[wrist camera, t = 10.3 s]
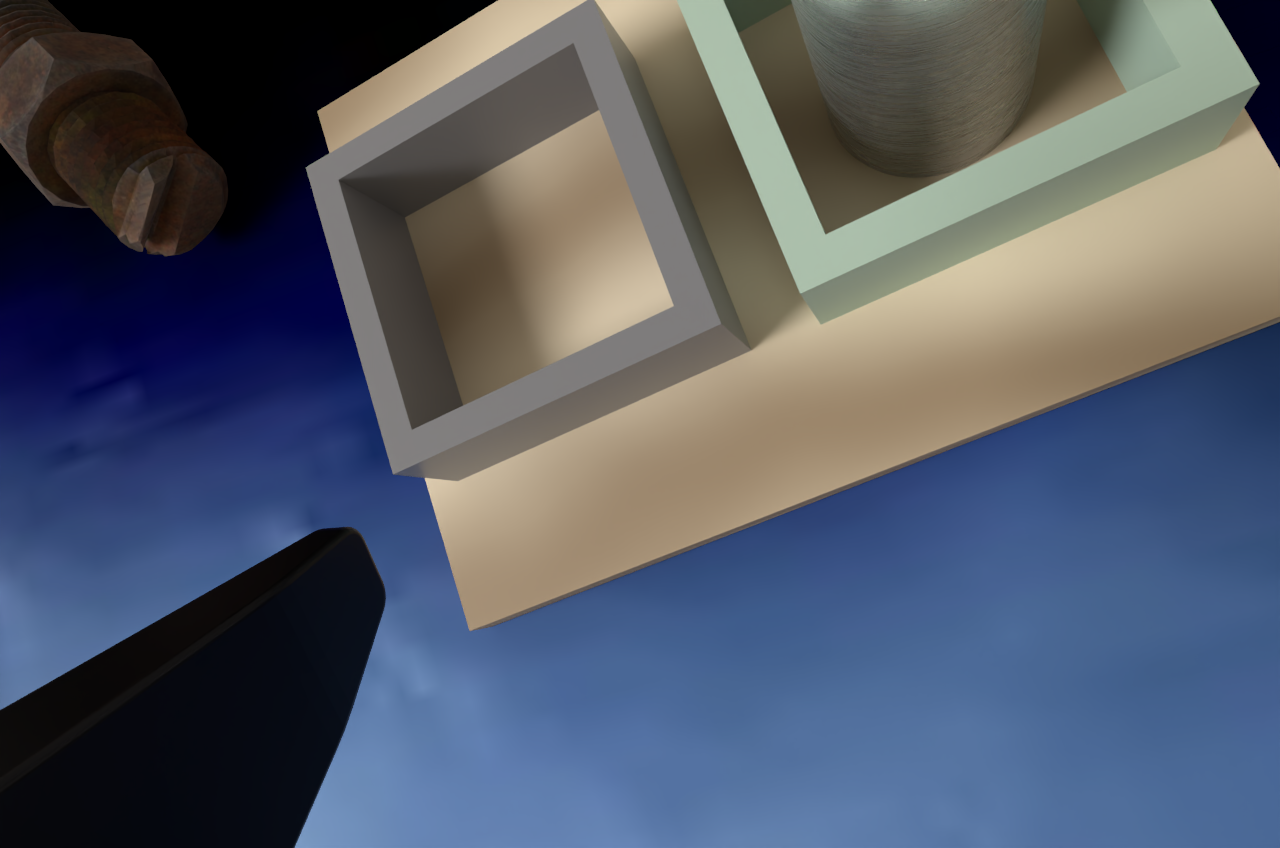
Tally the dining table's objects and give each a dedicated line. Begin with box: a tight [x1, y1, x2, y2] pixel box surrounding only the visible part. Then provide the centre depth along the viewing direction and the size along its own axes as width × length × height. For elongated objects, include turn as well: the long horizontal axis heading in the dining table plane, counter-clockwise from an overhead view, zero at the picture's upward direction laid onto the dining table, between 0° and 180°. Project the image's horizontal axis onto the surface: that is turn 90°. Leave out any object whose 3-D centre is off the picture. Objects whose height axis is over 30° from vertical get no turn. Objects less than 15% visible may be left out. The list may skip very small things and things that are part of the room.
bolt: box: [0, 0, 228, 256], centre depth 26 cm, size 6×5×15 cm
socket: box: [677, 0, 1260, 324], centre depth 17 cm, size 8×8×2 cm
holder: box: [306, 0, 751, 481], centre depth 19 cm, size 7×7×2 cm
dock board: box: [317, 0, 1280, 631], centre depth 20 cm, size 14×18×1 cm
